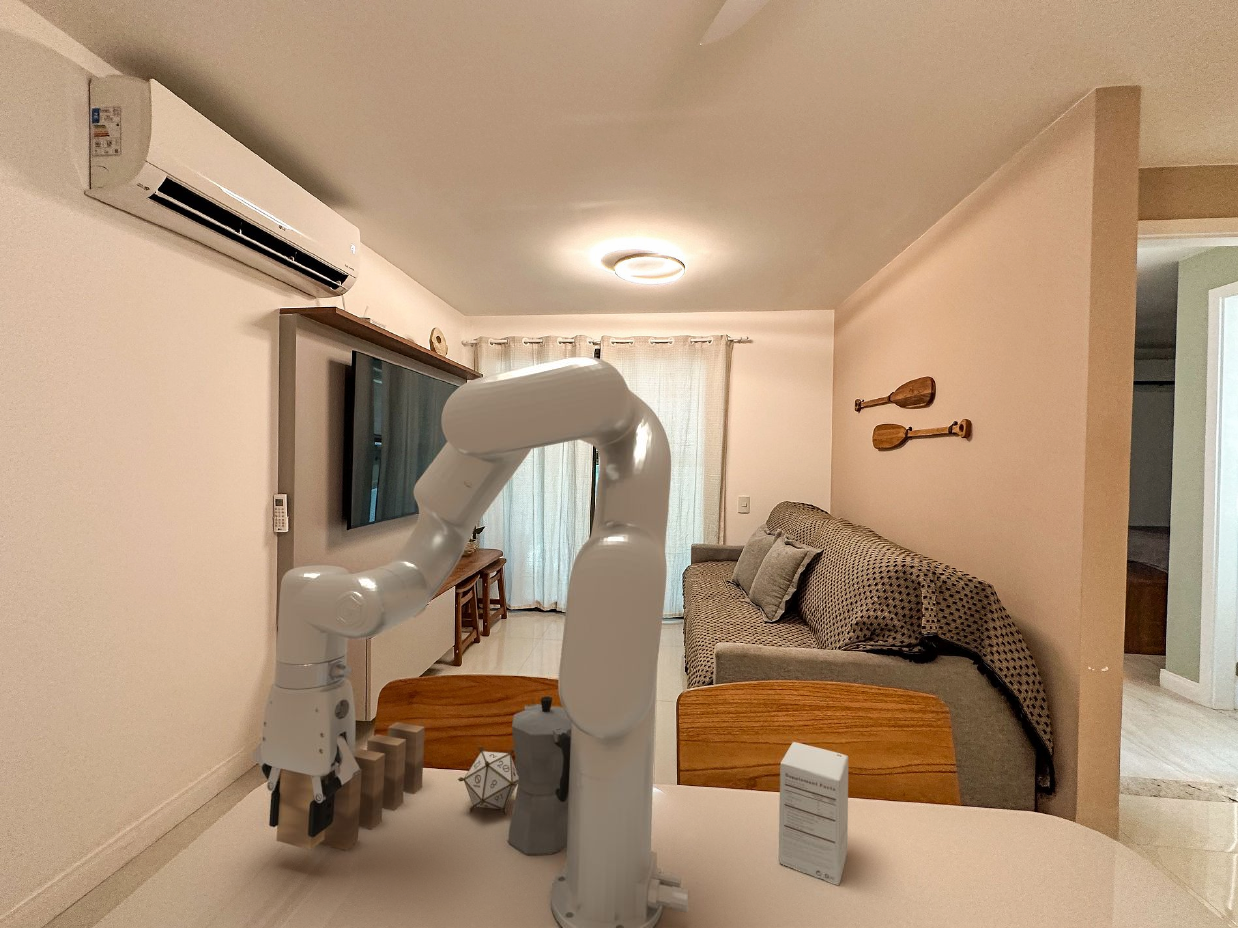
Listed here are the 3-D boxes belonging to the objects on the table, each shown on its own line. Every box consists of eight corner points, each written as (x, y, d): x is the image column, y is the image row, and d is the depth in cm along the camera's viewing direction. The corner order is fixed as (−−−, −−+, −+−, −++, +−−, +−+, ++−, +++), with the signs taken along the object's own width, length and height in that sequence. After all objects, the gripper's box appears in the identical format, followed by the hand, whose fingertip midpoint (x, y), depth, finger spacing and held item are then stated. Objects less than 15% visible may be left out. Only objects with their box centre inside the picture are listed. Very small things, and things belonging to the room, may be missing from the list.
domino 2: (358, 840, 71) (361, 769, 72) (346, 850, 69) (350, 776, 70) (326, 833, 72) (329, 762, 73) (314, 842, 71) (317, 770, 71)
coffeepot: (492, 816, 77) (498, 685, 78) (555, 799, 82) (559, 676, 83) (530, 888, 64) (536, 729, 65) (603, 863, 68) (607, 715, 69)
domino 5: (421, 786, 84) (424, 726, 85) (413, 793, 82) (416, 732, 83) (393, 781, 86) (396, 722, 86) (385, 787, 84) (388, 727, 84)
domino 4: (403, 802, 80) (406, 739, 80) (393, 810, 78) (397, 745, 78) (373, 796, 81) (376, 734, 82) (364, 803, 79) (367, 740, 80)
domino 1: (324, 839, 66) (328, 762, 66) (310, 849, 64) (315, 770, 64) (290, 830, 67) (295, 755, 68) (276, 840, 65) (281, 763, 66)
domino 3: (381, 820, 76) (385, 753, 76) (371, 829, 74) (375, 760, 74) (351, 813, 77) (354, 747, 77) (340, 821, 75) (344, 754, 75)
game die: (501, 827, 81) (543, 764, 84) (483, 841, 73) (531, 771, 76) (456, 786, 83) (499, 726, 86) (435, 795, 76) (482, 729, 78)
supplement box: (790, 833, 76) (792, 739, 76) (848, 853, 72) (850, 754, 72) (776, 864, 69) (778, 761, 70) (839, 888, 65) (841, 779, 66)
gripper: (392, 669, 68) (383, 821, 67) (281, 653, 72) (272, 794, 72) (346, 691, 61) (336, 861, 60) (227, 670, 65) (216, 828, 64)
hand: (301, 823), depth 66 cm, fingers closed on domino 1, 4 cm apart
